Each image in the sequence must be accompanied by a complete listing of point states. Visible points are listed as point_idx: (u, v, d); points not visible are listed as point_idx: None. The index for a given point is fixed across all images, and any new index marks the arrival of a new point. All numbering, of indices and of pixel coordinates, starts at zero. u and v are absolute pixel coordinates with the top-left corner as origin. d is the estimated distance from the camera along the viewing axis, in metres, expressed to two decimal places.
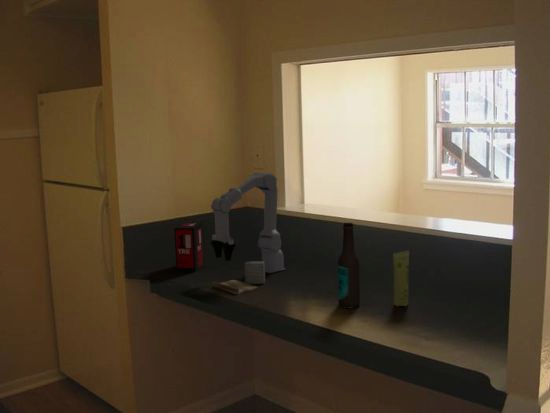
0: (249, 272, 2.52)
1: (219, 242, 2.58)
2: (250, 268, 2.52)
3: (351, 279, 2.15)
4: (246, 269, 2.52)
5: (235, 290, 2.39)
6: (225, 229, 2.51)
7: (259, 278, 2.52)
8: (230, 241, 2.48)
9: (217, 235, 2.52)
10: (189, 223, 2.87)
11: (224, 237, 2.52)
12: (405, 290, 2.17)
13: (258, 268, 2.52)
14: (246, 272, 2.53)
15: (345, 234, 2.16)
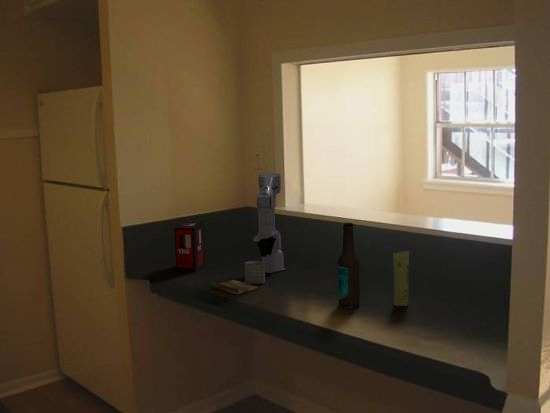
0: (249, 272, 2.52)
1: (269, 240, 2.58)
2: (250, 268, 2.52)
3: (351, 279, 2.15)
4: (246, 269, 2.52)
5: (235, 290, 2.39)
6: (261, 226, 2.54)
7: (259, 278, 2.52)
8: (254, 238, 2.51)
9: None
10: (189, 223, 2.87)
11: (260, 234, 2.55)
12: (405, 290, 2.17)
13: (258, 268, 2.52)
14: (246, 272, 2.53)
15: (345, 234, 2.16)
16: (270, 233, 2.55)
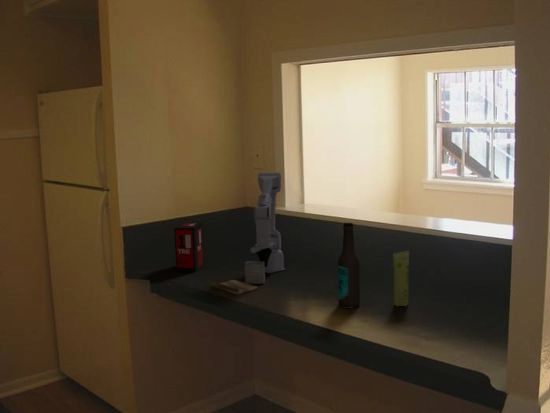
0: (249, 272, 2.52)
1: None
2: (250, 268, 2.52)
3: (351, 279, 2.15)
4: (246, 269, 2.52)
5: (235, 290, 2.39)
6: (259, 237, 2.54)
7: (259, 278, 2.52)
8: (251, 249, 2.51)
9: None
10: (189, 223, 2.87)
11: (258, 245, 2.54)
12: (405, 290, 2.17)
13: (258, 268, 2.52)
14: (246, 272, 2.53)
15: (345, 234, 2.16)
16: (268, 244, 2.54)
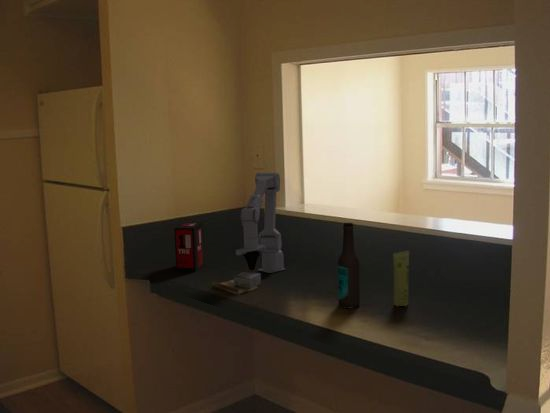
0: None
1: None
2: None
3: (351, 279, 2.15)
4: None
5: (235, 290, 2.39)
6: (245, 239, 2.49)
7: None
8: (236, 251, 2.48)
9: None
10: (189, 223, 2.87)
11: (244, 247, 2.51)
12: (405, 290, 2.17)
13: None
14: None
15: (345, 234, 2.16)
16: (254, 247, 2.49)
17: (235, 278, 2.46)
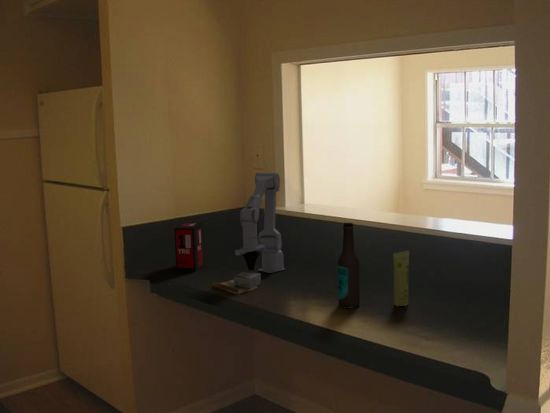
0: None
1: None
2: None
3: (351, 279, 2.15)
4: None
5: (235, 290, 2.39)
6: (244, 239, 2.49)
7: None
8: (235, 252, 2.47)
9: None
10: (189, 223, 2.87)
11: (244, 247, 2.50)
12: (405, 290, 2.17)
13: None
14: None
15: (345, 234, 2.16)
16: (253, 247, 2.49)
17: (235, 278, 2.46)
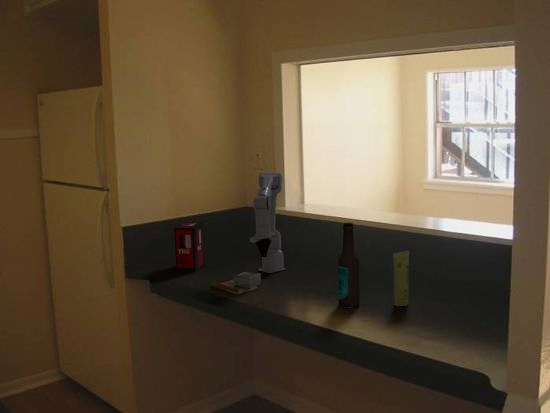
0: None
1: None
2: None
3: (351, 279, 2.15)
4: None
5: (235, 290, 2.39)
6: (258, 227, 2.53)
7: None
8: (250, 239, 2.50)
9: None
10: (189, 223, 2.87)
11: (257, 235, 2.54)
12: (405, 290, 2.17)
13: None
14: None
15: (345, 234, 2.16)
16: (267, 234, 2.53)
17: (235, 278, 2.46)
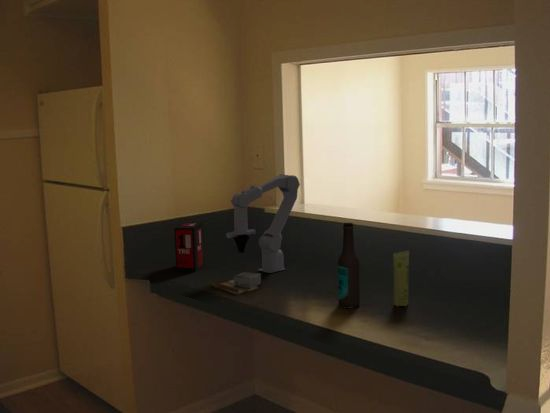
0: None
1: None
2: None
3: (351, 279, 2.15)
4: None
5: (235, 290, 2.39)
6: (235, 223, 2.62)
7: None
8: (226, 234, 2.60)
9: None
10: (189, 223, 2.87)
11: (234, 231, 2.63)
12: (405, 290, 2.17)
13: None
14: None
15: (345, 234, 2.16)
16: (244, 230, 2.62)
17: (235, 278, 2.46)
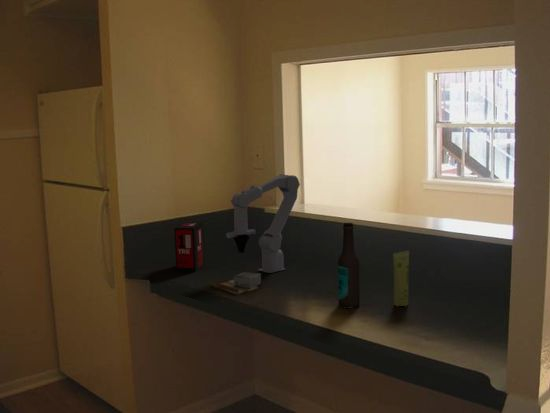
0: None
1: None
2: None
3: (351, 279, 2.15)
4: None
5: (235, 290, 2.39)
6: (235, 223, 2.62)
7: None
8: (226, 234, 2.60)
9: None
10: (189, 223, 2.86)
11: (234, 231, 2.63)
12: (405, 290, 2.17)
13: None
14: None
15: (345, 234, 2.16)
16: (244, 230, 2.62)
17: (235, 278, 2.46)
